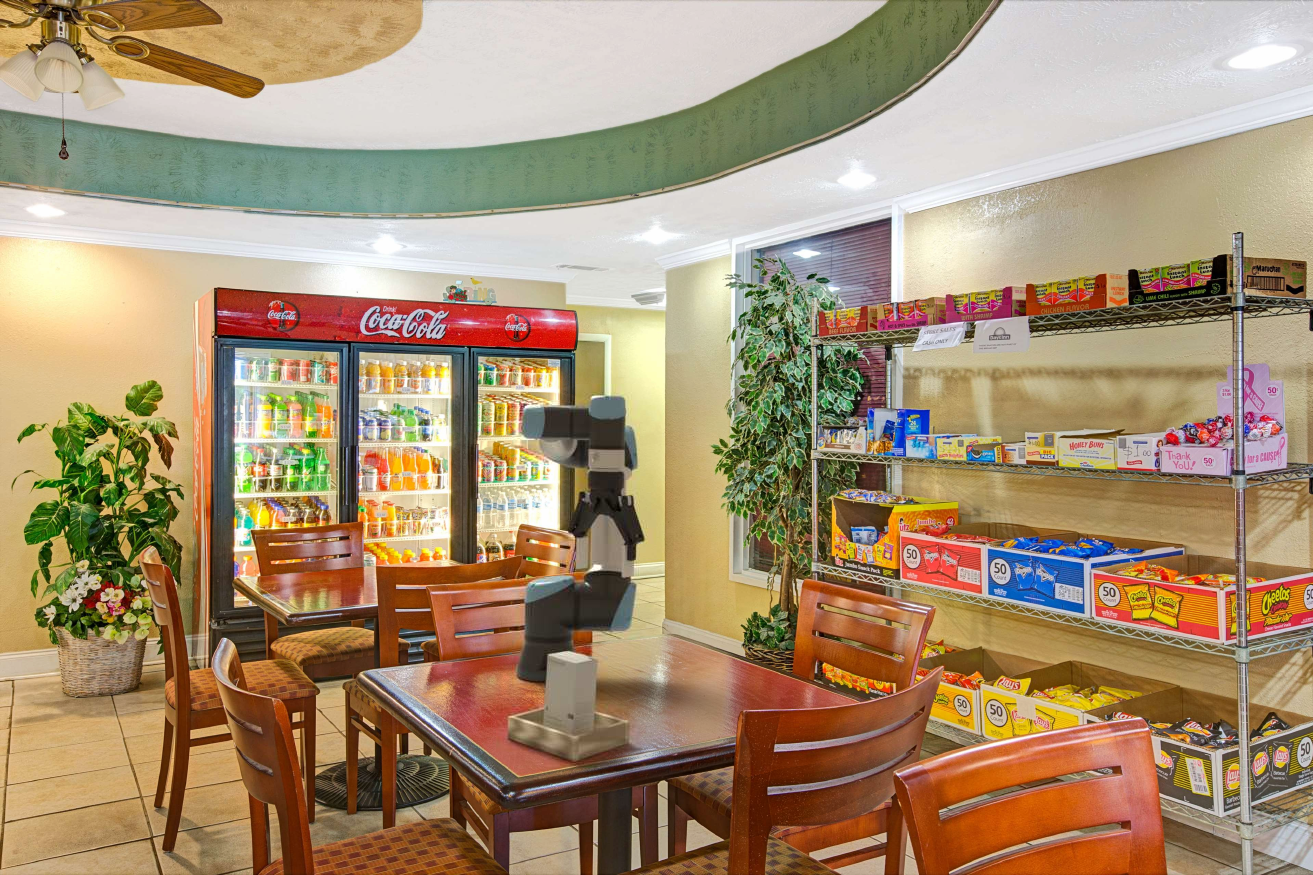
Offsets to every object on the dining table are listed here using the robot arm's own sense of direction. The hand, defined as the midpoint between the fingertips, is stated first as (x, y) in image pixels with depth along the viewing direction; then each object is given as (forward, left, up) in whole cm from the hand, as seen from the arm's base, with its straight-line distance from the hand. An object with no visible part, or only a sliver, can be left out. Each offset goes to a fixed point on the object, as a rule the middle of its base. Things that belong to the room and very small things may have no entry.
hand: (604, 572), depth 185 cm
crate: (+8, -17, -29) cm, 35 cm away
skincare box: (+9, -17, -28) cm, 34 cm away
